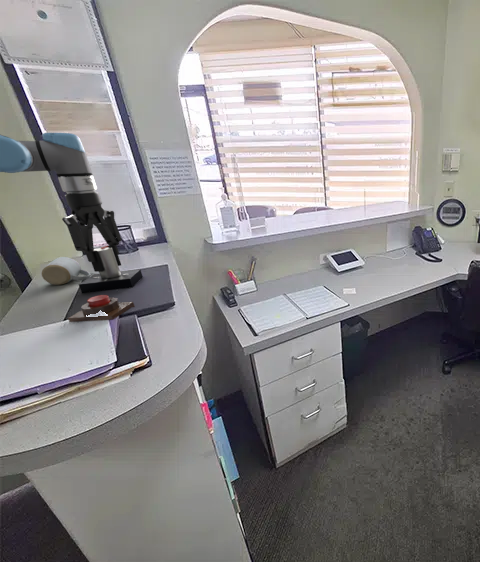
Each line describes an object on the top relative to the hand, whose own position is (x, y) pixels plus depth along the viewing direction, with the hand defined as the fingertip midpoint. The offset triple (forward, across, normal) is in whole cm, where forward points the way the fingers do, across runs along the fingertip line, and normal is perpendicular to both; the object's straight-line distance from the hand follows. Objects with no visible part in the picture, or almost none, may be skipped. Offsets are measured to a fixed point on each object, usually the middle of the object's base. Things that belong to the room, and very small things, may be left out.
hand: (108, 268), depth 98 cm
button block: (+6, -20, -19) cm, 28 cm away
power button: (+2, -20, -19) cm, 28 cm away
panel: (+6, 0, 0) cm, 6 cm away
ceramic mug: (+6, +2, +19) cm, 20 cm away
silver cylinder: (+3, 0, 0) cm, 3 cm away
